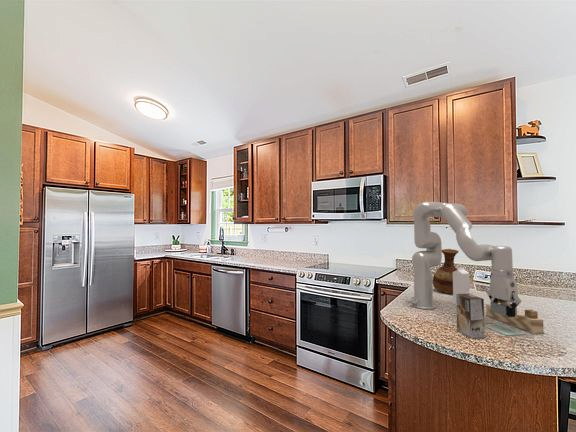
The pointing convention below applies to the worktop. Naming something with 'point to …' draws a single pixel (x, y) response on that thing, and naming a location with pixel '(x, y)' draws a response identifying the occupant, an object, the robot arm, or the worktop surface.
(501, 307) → the lever cap
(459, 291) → the milk
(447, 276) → the brown ceramic vase
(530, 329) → the body
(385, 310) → the worktop surface
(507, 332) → the mat
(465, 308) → the coffee box
